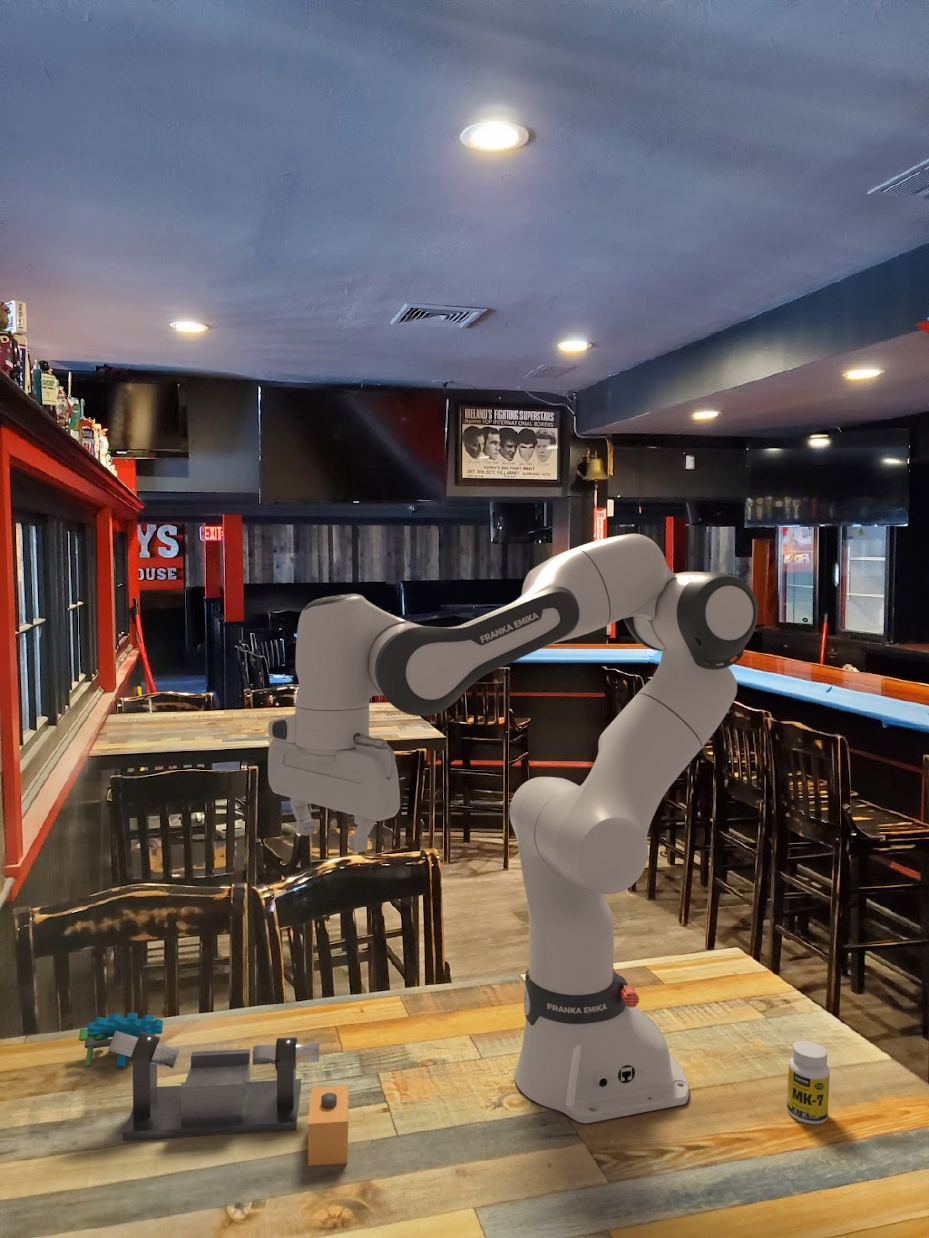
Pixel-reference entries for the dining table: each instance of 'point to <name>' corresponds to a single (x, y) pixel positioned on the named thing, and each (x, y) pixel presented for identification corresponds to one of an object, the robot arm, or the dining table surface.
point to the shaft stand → (212, 1089)
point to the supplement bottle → (808, 1083)
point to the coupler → (328, 1126)
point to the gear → (108, 1027)
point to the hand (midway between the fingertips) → (331, 842)
